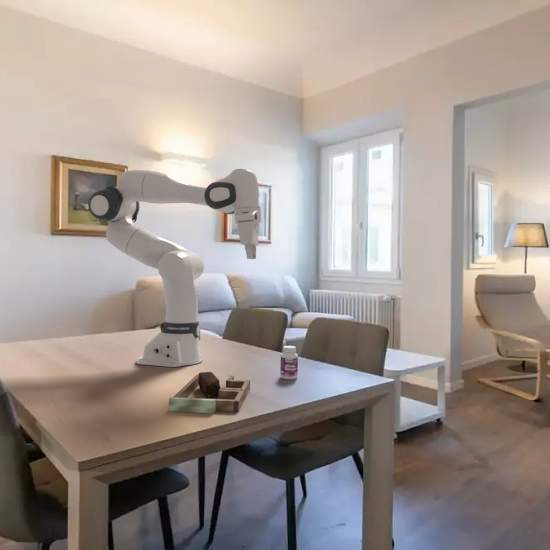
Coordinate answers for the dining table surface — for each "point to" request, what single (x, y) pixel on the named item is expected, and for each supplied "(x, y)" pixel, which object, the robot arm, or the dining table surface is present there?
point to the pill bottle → (289, 363)
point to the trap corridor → (226, 401)
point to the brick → (208, 384)
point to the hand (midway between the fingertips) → (251, 258)
